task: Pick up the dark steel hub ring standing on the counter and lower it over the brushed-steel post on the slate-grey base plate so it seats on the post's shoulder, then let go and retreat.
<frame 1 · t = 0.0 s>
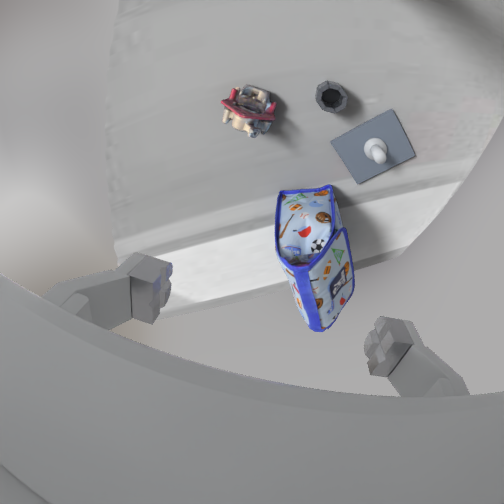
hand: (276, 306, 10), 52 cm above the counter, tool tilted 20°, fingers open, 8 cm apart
lunch bag: (315, 222, 70), on the counter
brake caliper: (252, 106, 52), on the counter
hub ring: (330, 94, 47), on the counter
post block: (374, 146, 52), on the counter
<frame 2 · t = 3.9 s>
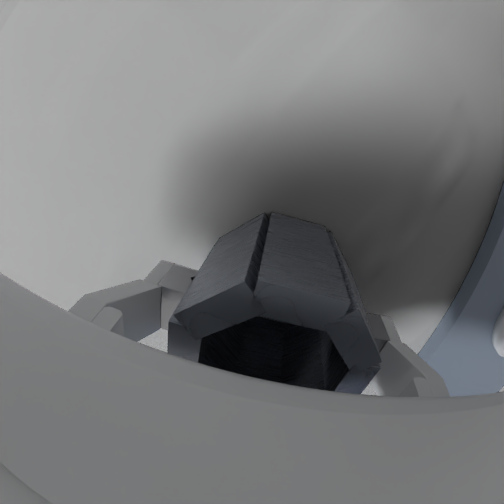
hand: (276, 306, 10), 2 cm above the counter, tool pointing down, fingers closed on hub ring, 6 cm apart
hub ring: (278, 283, 11), on the counter, touching gripper
when the fingers open (4 cm above the counter, at t = 9.9 s): hub ring stays where it is, resting on post block.
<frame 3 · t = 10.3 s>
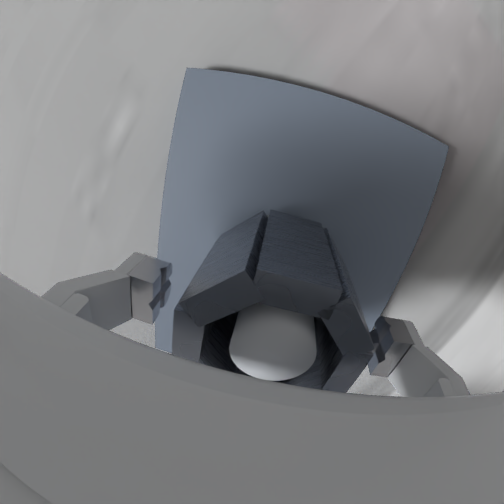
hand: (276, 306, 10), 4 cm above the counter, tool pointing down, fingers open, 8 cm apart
hub ring: (277, 277, 12), point 2 cm above the counter, touching post block
post block: (280, 258, 14), on the counter
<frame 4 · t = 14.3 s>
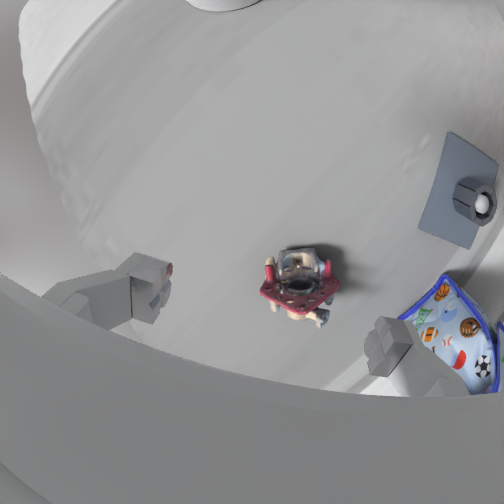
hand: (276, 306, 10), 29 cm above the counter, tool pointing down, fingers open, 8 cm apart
lunch bag: (445, 319, 43), on the counter
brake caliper: (299, 272, 42), on the counter
hub ring: (466, 196, 31), point 2 cm above the counter, touching post block
post block: (460, 193, 33), on the counter
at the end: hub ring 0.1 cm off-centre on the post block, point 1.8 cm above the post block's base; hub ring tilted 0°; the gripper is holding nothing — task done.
